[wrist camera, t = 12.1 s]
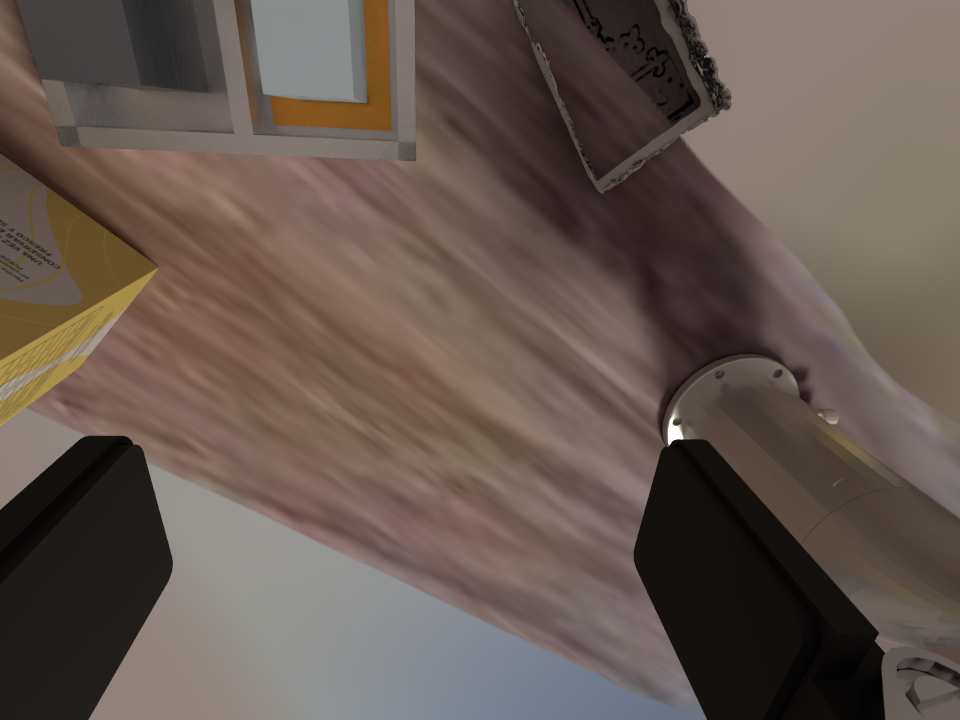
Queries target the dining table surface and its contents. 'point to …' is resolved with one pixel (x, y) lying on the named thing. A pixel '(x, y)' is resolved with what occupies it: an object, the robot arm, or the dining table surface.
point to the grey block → (312, 49)
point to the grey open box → (210, 81)
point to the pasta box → (54, 287)
